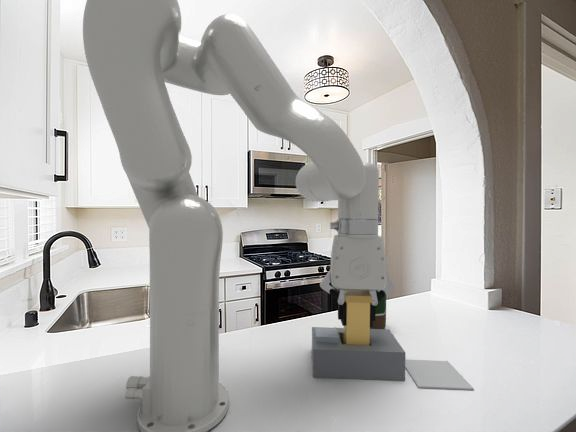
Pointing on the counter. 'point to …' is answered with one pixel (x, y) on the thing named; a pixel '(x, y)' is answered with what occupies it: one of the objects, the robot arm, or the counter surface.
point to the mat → (436, 375)
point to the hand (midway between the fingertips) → (356, 322)
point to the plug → (357, 318)
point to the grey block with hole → (357, 356)
